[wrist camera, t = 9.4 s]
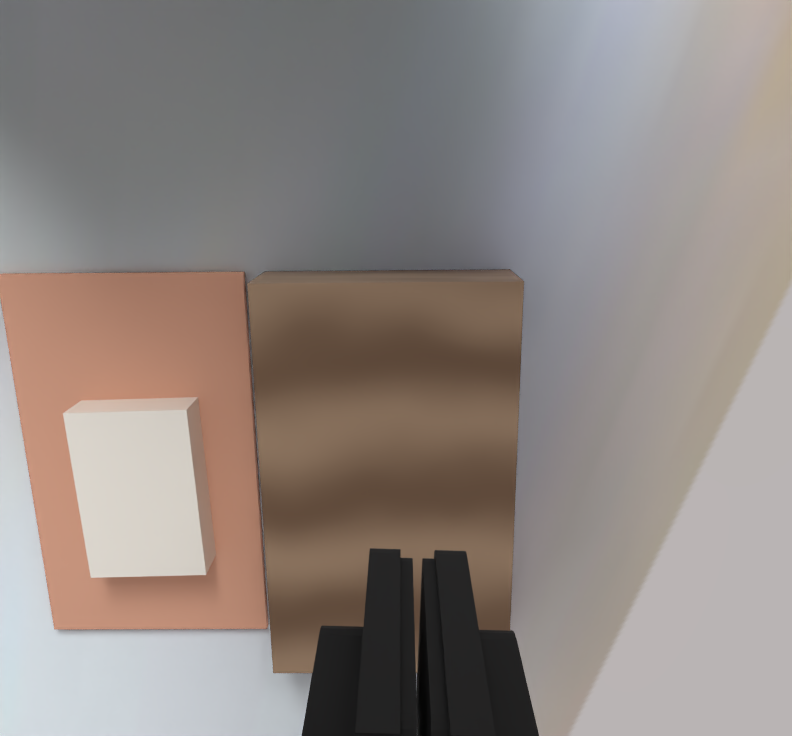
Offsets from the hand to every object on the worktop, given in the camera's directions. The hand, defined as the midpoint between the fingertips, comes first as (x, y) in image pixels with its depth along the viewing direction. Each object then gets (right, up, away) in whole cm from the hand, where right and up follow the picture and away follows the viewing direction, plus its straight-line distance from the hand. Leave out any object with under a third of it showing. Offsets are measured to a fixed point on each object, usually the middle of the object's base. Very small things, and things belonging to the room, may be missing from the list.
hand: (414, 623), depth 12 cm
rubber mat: (-14, -1, +25) cm, 28 cm away
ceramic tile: (-13, -2, +23) cm, 26 cm away
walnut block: (-1, 0, +25) cm, 25 cm away
